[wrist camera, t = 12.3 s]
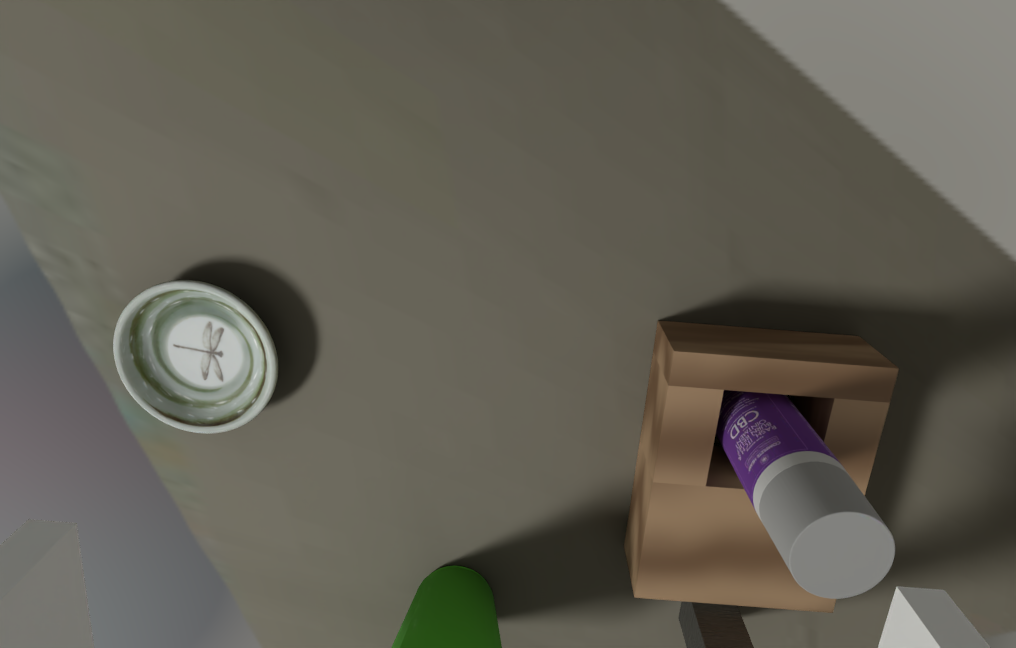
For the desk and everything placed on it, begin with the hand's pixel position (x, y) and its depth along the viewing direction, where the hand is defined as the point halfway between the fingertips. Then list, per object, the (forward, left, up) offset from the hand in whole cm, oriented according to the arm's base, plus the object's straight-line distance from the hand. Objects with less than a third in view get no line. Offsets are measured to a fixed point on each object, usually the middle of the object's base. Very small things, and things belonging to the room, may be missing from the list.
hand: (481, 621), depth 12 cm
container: (+10, +15, -32) cm, 37 cm away
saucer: (+9, -18, -32) cm, 38 cm away
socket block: (+13, +15, -32) cm, 37 cm away
